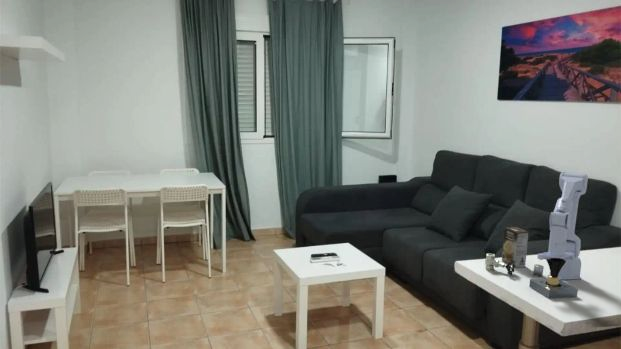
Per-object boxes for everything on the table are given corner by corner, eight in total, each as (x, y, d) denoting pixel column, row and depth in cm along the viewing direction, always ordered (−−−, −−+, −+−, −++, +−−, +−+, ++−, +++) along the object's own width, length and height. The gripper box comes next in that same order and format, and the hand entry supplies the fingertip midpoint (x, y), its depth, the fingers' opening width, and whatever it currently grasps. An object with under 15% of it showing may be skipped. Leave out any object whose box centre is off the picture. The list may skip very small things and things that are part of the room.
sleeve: (537, 272, 217) (538, 264, 217) (544, 275, 214) (545, 267, 213) (531, 273, 216) (532, 264, 215) (538, 276, 213) (539, 267, 212)
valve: (481, 269, 220) (508, 277, 212) (482, 255, 219) (509, 261, 211) (488, 266, 225) (515, 273, 217) (489, 252, 224) (516, 258, 216)
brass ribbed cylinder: (553, 289, 199) (554, 274, 198) (559, 293, 195) (561, 278, 194) (544, 289, 198) (545, 274, 197) (550, 293, 194) (551, 278, 194)
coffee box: (500, 261, 233) (503, 227, 230) (512, 260, 234) (515, 226, 232) (514, 267, 224) (517, 232, 221) (526, 266, 226) (529, 231, 223)
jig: (556, 285, 203) (557, 278, 203) (577, 296, 192) (577, 289, 191) (529, 286, 201) (530, 279, 201) (548, 298, 189) (549, 290, 189)
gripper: (547, 246, 188) (543, 281, 190) (581, 245, 191) (577, 279, 193) (535, 240, 195) (532, 274, 197) (568, 239, 198) (565, 273, 200)
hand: (554, 276), depth 195 cm, fingers closed
